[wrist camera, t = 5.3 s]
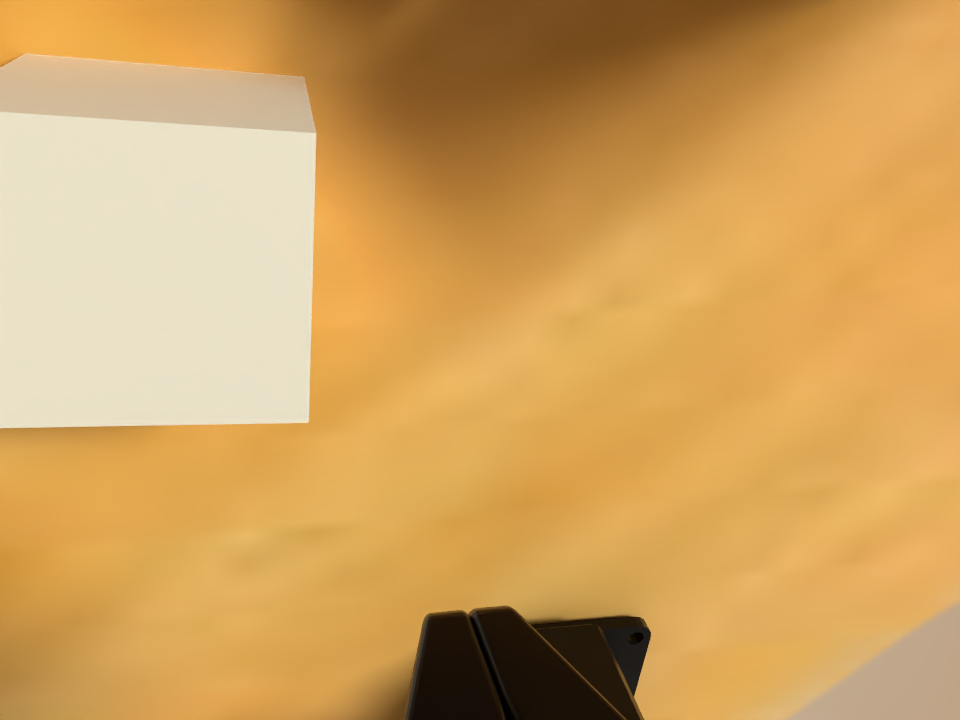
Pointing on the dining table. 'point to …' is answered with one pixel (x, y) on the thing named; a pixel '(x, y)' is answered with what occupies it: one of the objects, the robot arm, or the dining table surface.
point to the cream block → (154, 244)
